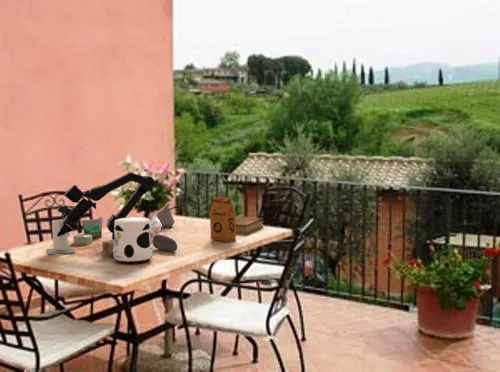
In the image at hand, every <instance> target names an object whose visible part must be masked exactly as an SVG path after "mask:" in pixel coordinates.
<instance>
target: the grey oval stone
mask: <svg viewBox="0 0 500 372" xmlns="http://www.w3.org/2000/svg"><path fill="white" fill-rule="evenodd" d="M152 245H153V248H155V249H158V250H159V251H164V252H169V253H171V252H172V253H174V252H176V251H177V249H178V244H177V242H176V240H175V239H173V238H171V237H169V236H167V235H164V234H155V235H153V237H152Z"/></svg>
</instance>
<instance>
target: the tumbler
mask: <svg viewBox="0 0 500 372" xmlns="http://www.w3.org/2000/svg"><path fill="white" fill-rule="evenodd" d="M63 221H64V220H62V219H54V220H51V228H52V229H51V230H52V247H53V248H54V249H55V250H64V249H68V247H70V244H69V243H70V242H69V232H68V233H66V234H64V235H61V236H59V237H58V236H57V234H58V233H59V231H60V230H61V228H62V227H63Z"/></svg>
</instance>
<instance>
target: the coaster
mask: <svg viewBox="0 0 500 372" xmlns="http://www.w3.org/2000/svg"><path fill="white" fill-rule="evenodd" d="M46 251H47V256H56V255H55V254H62V255H73V254H74V253H75V254H76V250H75V247H74V246H68V249H64V250H55V249H54V247H53V248H47V250H46Z"/></svg>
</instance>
